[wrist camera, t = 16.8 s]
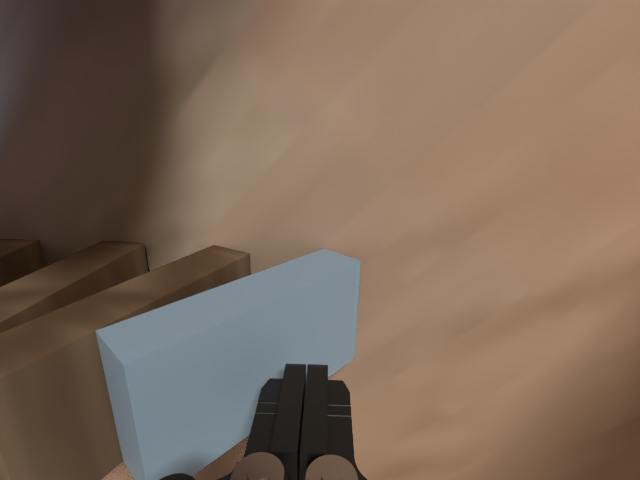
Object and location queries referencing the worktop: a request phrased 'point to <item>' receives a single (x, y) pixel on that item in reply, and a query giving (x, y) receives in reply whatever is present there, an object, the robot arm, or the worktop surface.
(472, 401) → the worktop surface
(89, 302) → the domino
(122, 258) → the domino
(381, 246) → the worktop surface
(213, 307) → the domino
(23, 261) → the domino
